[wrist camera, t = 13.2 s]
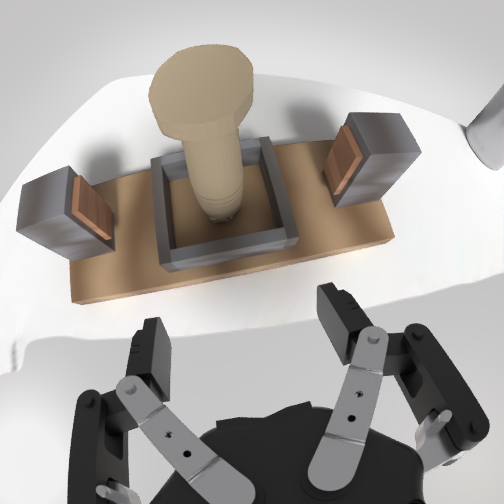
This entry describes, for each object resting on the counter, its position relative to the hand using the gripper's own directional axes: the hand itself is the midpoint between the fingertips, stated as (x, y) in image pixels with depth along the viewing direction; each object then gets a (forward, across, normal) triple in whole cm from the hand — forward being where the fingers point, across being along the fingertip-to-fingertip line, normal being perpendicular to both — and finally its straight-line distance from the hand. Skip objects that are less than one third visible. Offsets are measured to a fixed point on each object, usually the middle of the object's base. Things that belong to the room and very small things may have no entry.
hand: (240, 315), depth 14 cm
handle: (+14, 0, 0) cm, 14 cm away
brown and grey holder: (+15, 0, +1) cm, 15 cm away
